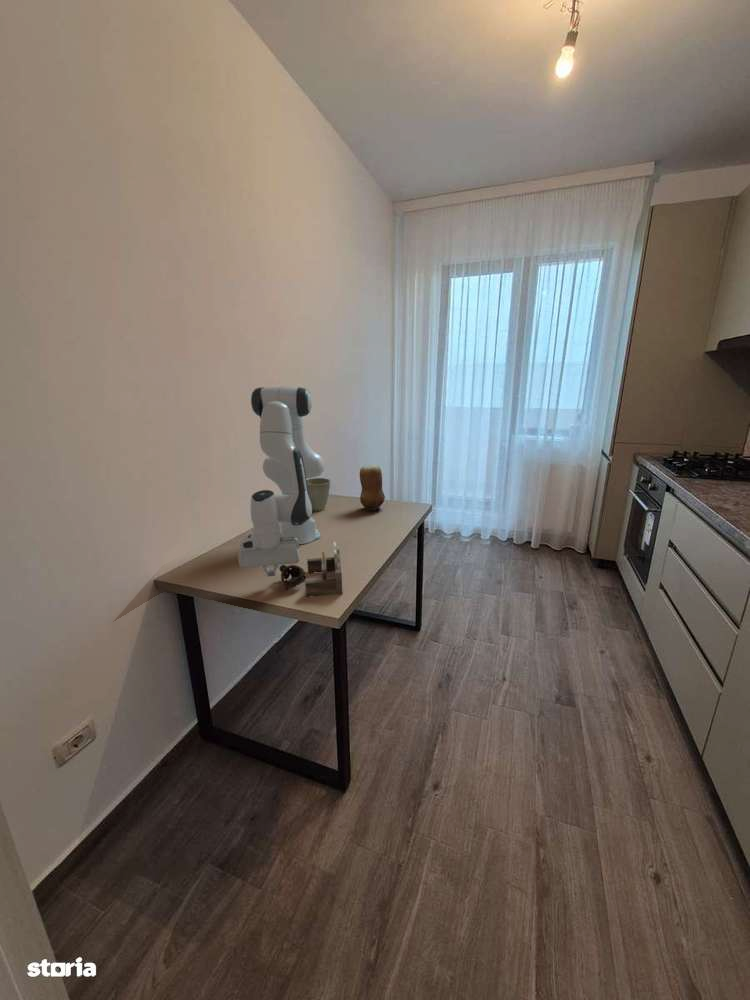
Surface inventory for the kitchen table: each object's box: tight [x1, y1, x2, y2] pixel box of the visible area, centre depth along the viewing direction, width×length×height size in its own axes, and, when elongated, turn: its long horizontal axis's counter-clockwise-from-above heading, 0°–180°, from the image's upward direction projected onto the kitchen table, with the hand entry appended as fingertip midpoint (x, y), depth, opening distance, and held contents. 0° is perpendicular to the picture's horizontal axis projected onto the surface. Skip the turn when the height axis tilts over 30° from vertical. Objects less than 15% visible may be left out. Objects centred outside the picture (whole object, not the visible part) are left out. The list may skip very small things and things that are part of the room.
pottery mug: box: [278, 564, 307, 590], centre depth 141 cm, size 12×10×8 cm
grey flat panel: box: [321, 551, 328, 580], centre depth 140 cm, size 10×2×11 cm, turn 7°
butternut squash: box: [359, 464, 386, 511], centre depth 216 cm, size 14×13×25 cm
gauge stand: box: [304, 540, 344, 598], centre depth 140 cm, size 19×12×13 cm, turn 7°
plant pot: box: [306, 477, 331, 512], centre depth 221 cm, size 15×15×16 cm
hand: (271, 575), depth 139 cm, fingers closed
